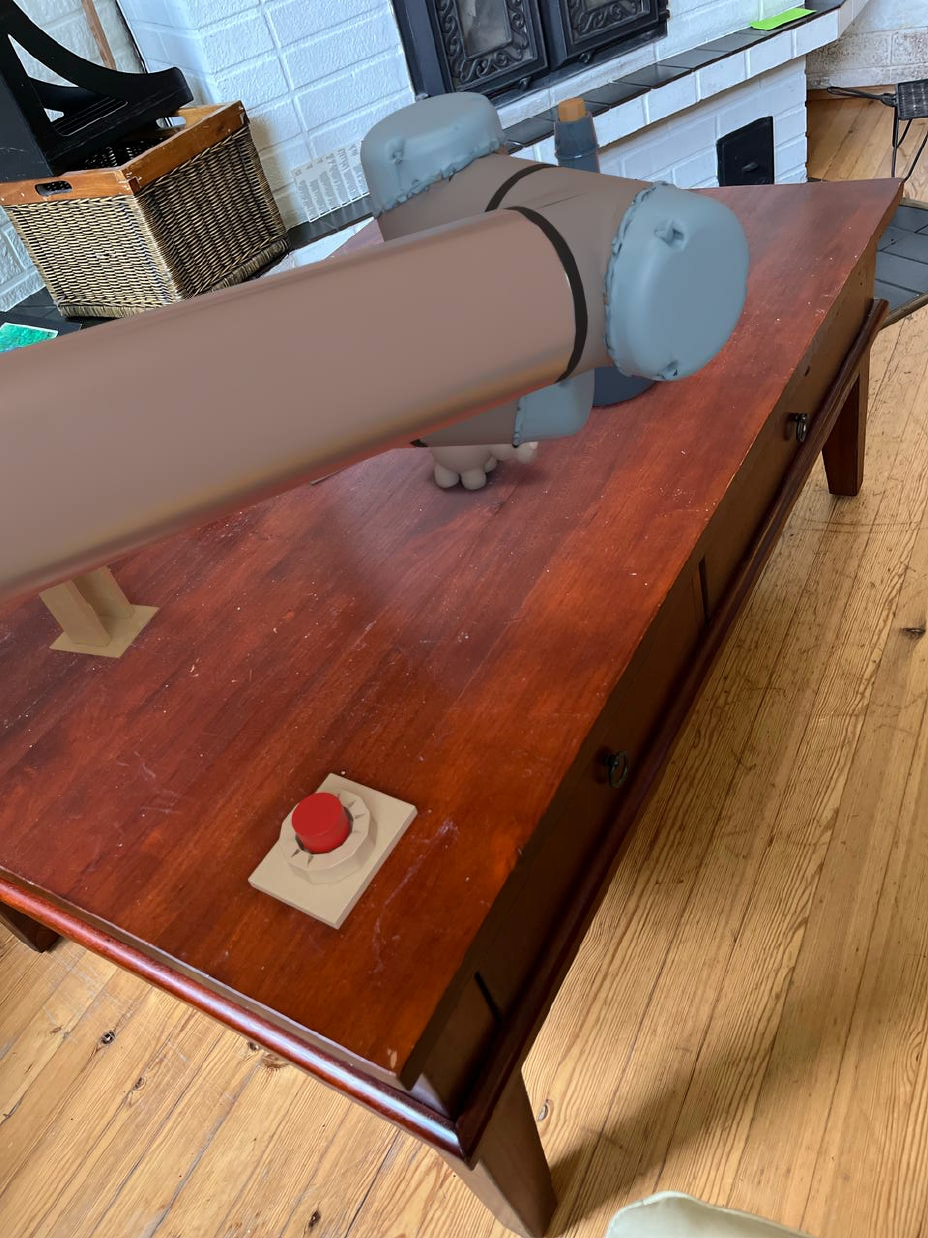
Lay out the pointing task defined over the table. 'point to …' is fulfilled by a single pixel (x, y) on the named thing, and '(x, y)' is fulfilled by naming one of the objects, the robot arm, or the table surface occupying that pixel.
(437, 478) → the round bodied animal figurine
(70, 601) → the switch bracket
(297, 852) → the control block
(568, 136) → the wine bottle
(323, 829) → the stop button
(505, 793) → the table surface
